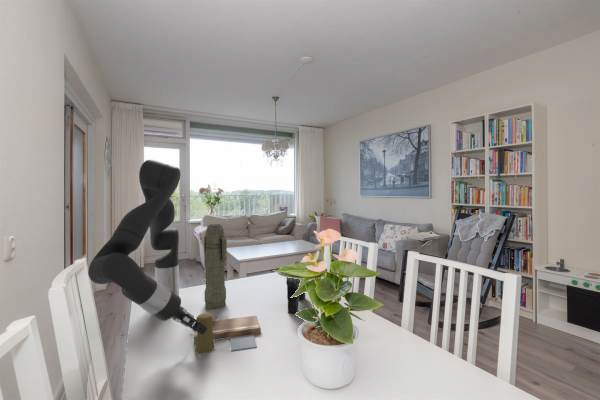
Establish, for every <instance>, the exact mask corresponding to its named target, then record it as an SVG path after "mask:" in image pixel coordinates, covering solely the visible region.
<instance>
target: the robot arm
mask: <svg viewBox="0 0 600 400" xmlns="http://www.w3.org/2000/svg"><path fill="white" fill-rule="evenodd" d="M138 173H139V174H138V176H139V177H138V179H139V185H140V189H141V191H142V193H143V197H144V200H145V202H143V203H141V204H139V205H138V206H136V207H134V208H133V209H131V210H130V211H128V212H127V213H126V214H125V215H124V216H123V217H122V219H121V220H120V222H119V224H118V225H117V227H116V229H115V230H114V232H113V234H112V236H111V237H110V239H108V241H106V242H105V244H104V245H103V246H102V248H101V249H100V250H99V251H98V252H97V254H96V255H95V256H94V257H93V259H91V262H90V264H89V266H88V271H87V273H88V277H89V279H90V281H92V282H93V283H95V284H97V285H106V284H111V283H114V284H115V285H117V286H119V287H120V288H121V292H122V295H123V296H124V297H125V298H127V299H128V300H130V301H132V302H133V303H135V304H136V305H137V306H138V307H139V308H141V309H142V310H144V311H145V312H147V313H149V314H150V315H151V316H154V317H155V318H156V319H158V320H160V321H162V322H165V321H168V320H170V319H172V320H173V321H174V322H176V323H180V324H181V325H183V326H184V327H185V328H187V327H188V328H190V329H191V330H192V331H193V332H195V331H197V332H199V333H200V334H202V335H203V334H204V333H205V332H206V330H207V327H205V326H204V325H202V324H201V322H199V321H197V320H196V318H195V315H193V314H192V313H190V312H189V311H188V310H187V309H186V308H184V307H183V306H182V305H181V304H182V298H181V296H180V283H179V281H180V280H179V279H180V272H179V271H180V270H179V246H180V245H179V243H180V241H179V240H180V235H179V230H178V229H177V228H175V227H170V226H171V224H173V222H174V220H175V213H176V212H175V209H176V208H175V204H174V203H173V200H172V199H171V197H172V195H173V194H174V193H175V191H176V189H177V187H178V186H179V184H180V180H181V170H180V168H179V167H177V166H176V165H173V164H169V163H165V162H163V161H158V160H155V159H147V160H145V161H144V162H142V164H141V166H140V168H139V172H138ZM148 230H149V231H150V232H149V233H150V237H149V238H150V239H149V240H150V245H151V248H152V249H153V250H154V251H169V250H170V251H169V252H168V253H167V254H165V255H163V256H161V257H158V258H156V259H155V261H154V279H153V278H152V277H150V276H149V275H148V274H146V273H145V272H144V271H143V269H142V268H141V267H140V265H139V264H138V263H137V262H136V261H135V259H133V258H132V257H130V256H129V255H130V254H131V253H133V252H134V251H136V250H137V249H139V247H140V245H141V244H142V241H143V239H144V237H145V236H146V235H147V232H148Z"/></svg>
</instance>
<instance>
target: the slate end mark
mask: <svg viewBox="0 0 600 400" xmlns="http://www.w3.org/2000/svg"><path fill="white" fill-rule="evenodd" d="M229 340H230V349H231V352H235V351H241V350H248V349H254V348H255V349H256V348H258V345H257V342H256V338H255V334H251V335H244V336H237V337H230V338H229Z"/></svg>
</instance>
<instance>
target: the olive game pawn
mask: <svg viewBox="0 0 600 400" xmlns="http://www.w3.org/2000/svg"><path fill="white" fill-rule="evenodd" d="M195 320H197V321H199V322H201V324H202V325H204V326H205V327H207V330H206V332H205V333H204V334H203V335H202V334H200V333H199V332H197V338H196V342H195V347H194V351H195V353H197V354H200V355H203V354H204V355H205V354H208V353H211V352H212V351H214V349H216V346H215V340H214V338H213V331H212V323H213V321H214V316H213V314H212V313H210V312H202V313H199V314H198V315H197V316H196V318H195Z"/></svg>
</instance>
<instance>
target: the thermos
mask: <svg viewBox="0 0 600 400" xmlns="http://www.w3.org/2000/svg"><path fill="white" fill-rule="evenodd" d="M227 243H228V241H227V238H226V236H225V230H224V227H223V225H222V224H220V223H219V224H218V223H211V224H209V225H207V227H206V231H205V235H204V237H203V256H204V265H203V266H204V267H205V289H204V308H205V309H207V310H219V309H222V308H225V307H226V305H227V303H226V301H227V288H226V281H225V280H226V278H225V277H226V276H225V274H226V273H225V271H226V270H225V266H226V265H227V261H226V260H227V259H228V258H227V249H228V244H227Z"/></svg>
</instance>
